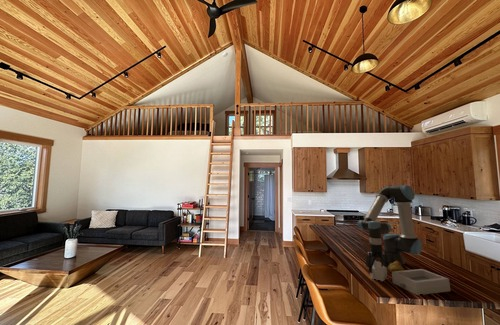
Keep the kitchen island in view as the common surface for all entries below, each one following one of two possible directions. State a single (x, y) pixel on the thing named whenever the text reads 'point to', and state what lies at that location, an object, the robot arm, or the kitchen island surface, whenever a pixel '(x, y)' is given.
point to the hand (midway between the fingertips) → (378, 277)
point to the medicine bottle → (378, 270)
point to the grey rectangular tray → (421, 281)
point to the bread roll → (395, 267)
